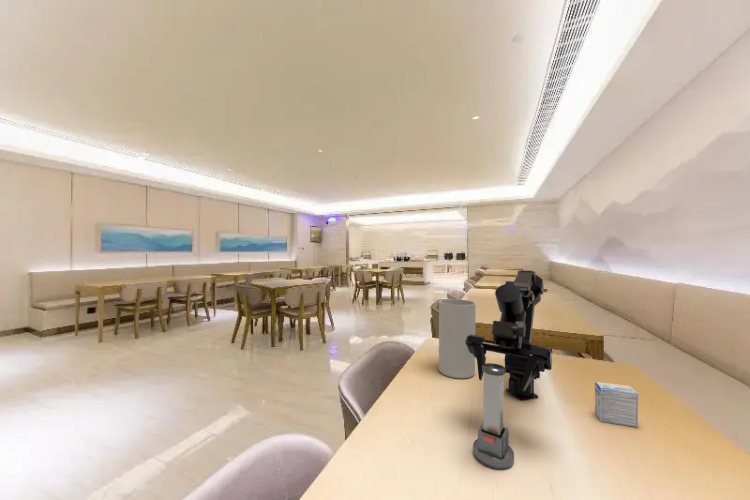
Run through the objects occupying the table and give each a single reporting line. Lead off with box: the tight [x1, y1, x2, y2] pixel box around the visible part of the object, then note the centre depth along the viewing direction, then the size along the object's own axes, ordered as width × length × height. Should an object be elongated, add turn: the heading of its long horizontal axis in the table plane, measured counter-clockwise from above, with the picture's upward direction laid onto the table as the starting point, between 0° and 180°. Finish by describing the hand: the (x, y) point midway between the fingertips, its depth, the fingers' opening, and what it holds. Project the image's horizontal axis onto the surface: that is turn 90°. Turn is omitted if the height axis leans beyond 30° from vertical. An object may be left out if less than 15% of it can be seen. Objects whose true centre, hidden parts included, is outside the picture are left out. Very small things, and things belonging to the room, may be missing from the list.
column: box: [482, 362, 507, 436], centre depth 63 cm, size 5×5×13 cm
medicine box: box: [594, 381, 639, 428], centre depth 77 cm, size 8×4×9 cm, turn 71°
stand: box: [472, 422, 515, 471], centre depth 63 cm, size 8×8×6 cm
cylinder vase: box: [438, 298, 477, 379], centre depth 107 cm, size 12×12×25 cm
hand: (500, 384), depth 68 cm, fingers open, 9 cm apart
